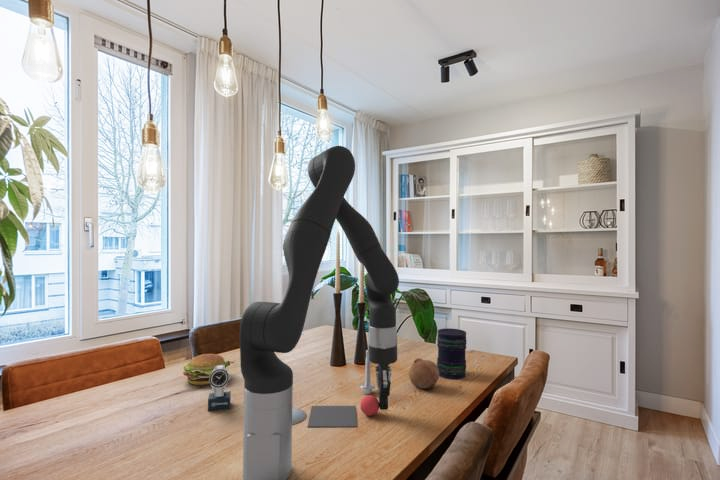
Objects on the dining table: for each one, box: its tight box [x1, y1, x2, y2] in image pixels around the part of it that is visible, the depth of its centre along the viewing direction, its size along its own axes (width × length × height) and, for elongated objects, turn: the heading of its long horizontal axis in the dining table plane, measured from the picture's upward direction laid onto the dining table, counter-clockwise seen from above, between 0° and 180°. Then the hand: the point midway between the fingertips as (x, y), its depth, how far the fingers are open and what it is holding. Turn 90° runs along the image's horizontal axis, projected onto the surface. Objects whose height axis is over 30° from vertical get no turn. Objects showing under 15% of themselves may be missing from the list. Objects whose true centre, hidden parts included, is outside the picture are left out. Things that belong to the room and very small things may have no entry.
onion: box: [408, 357, 440, 390], centre depth 122 cm, size 10×9×10 cm
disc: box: [292, 407, 307, 425], centre depth 101 cm, size 10×10×1 cm
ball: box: [359, 394, 380, 416], centre depth 103 cm, size 5×5×5 cm
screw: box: [359, 349, 377, 395], centre depth 118 cm, size 13×5×5 cm
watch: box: [207, 365, 232, 412], centre depth 106 cm, size 6×8×11 cm
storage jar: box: [436, 328, 467, 381], centre depth 135 cm, size 10×10×15 cm
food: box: [183, 353, 231, 386], centre depth 127 cm, size 14×14×8 cm
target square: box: [307, 405, 358, 428], centre depth 101 cm, size 12×12×1 cm
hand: (383, 408), depth 102 cm, fingers closed
